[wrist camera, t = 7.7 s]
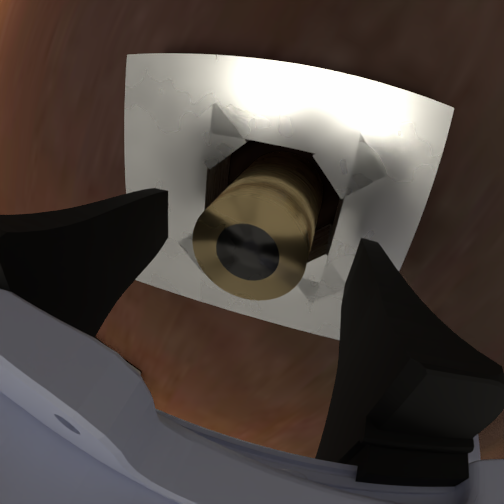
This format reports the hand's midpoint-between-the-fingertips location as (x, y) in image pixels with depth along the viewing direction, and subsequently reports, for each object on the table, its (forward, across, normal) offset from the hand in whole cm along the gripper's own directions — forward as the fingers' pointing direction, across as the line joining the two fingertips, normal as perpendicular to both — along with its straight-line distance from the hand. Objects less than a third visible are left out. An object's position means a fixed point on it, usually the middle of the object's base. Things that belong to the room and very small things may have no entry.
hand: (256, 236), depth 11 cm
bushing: (+5, 0, 0) cm, 5 cm away
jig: (+5, 0, 0) cm, 5 cm away
